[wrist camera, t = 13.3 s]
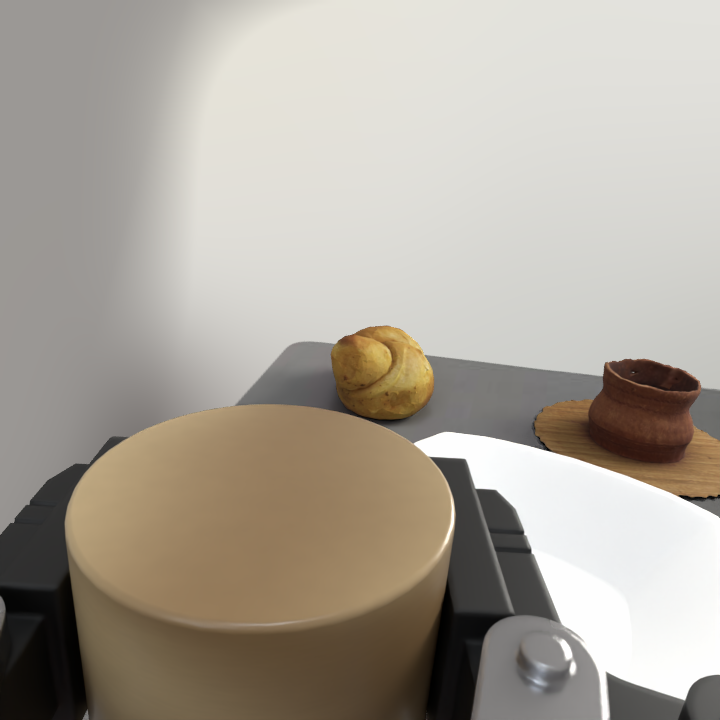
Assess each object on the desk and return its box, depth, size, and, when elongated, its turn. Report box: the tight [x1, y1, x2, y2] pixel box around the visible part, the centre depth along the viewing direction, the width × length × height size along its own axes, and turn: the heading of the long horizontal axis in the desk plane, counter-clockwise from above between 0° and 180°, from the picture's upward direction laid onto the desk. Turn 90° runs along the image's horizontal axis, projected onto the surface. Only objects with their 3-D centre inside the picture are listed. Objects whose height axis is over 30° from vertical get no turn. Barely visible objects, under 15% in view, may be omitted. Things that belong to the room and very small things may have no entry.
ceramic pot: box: [534, 359, 720, 498], centre depth 54 cm, size 18×18×7 cm
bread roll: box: [331, 326, 434, 419], centre depth 59 cm, size 13×10×8 cm
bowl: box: [414, 432, 720, 700], centre depth 34 cm, size 22×22×5 cm
